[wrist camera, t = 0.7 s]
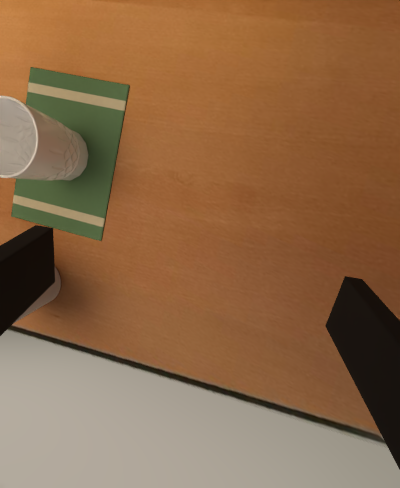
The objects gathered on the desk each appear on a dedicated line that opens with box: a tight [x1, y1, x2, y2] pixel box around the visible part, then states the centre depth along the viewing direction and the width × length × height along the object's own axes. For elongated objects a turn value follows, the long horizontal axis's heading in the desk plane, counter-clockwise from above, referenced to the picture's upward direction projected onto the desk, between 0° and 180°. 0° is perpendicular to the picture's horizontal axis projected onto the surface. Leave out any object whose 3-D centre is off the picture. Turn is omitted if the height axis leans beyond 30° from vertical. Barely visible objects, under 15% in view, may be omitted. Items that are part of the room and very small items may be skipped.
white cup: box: [0, 96, 89, 181], centre depth 34 cm, size 8×8×10 cm
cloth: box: [11, 67, 130, 241], centre depth 39 cm, size 20×14×1 cm
